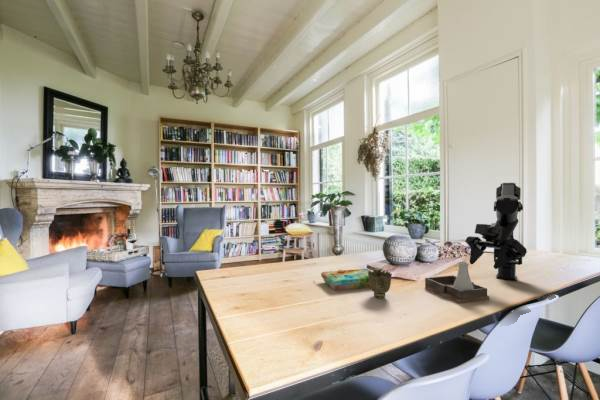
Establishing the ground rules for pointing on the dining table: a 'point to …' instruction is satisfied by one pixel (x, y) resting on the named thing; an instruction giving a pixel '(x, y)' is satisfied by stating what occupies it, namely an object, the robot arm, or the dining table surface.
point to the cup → (379, 282)
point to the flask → (463, 278)
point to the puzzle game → (347, 279)
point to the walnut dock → (455, 290)
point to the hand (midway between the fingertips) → (482, 265)
